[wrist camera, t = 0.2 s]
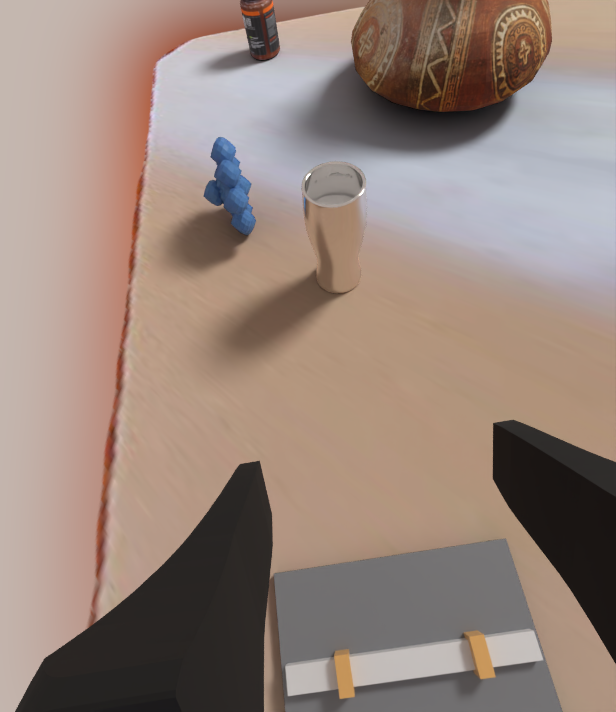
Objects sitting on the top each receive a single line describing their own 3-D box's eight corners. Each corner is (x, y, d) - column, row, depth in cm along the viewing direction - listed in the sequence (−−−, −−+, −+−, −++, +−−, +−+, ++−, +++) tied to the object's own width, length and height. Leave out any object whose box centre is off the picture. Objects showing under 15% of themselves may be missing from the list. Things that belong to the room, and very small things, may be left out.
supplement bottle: (282, 43, 81) (272, -30, 71) (278, 60, 78) (266, -13, 68) (253, 45, 82) (239, -27, 72) (248, 62, 79) (233, -10, 69)
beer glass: (349, 304, 52) (348, 217, 38) (303, 285, 54) (286, 196, 41) (373, 265, 54) (380, 170, 41) (328, 248, 56) (320, 152, 43)
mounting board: (575, 763, 31) (595, 783, 28) (295, 801, 32) (289, 823, 29) (502, 539, 38) (513, 537, 36) (275, 573, 39) (269, 574, 36)
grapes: (211, 200, 63) (182, 128, 52) (253, 189, 63) (232, 115, 52) (222, 256, 58) (192, 188, 47) (268, 244, 58) (248, 173, 47)
